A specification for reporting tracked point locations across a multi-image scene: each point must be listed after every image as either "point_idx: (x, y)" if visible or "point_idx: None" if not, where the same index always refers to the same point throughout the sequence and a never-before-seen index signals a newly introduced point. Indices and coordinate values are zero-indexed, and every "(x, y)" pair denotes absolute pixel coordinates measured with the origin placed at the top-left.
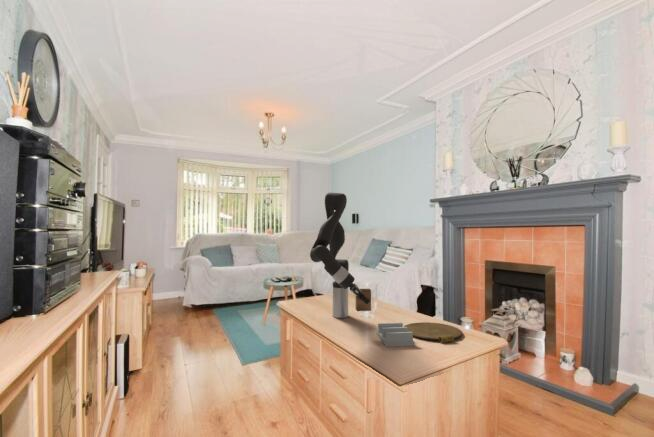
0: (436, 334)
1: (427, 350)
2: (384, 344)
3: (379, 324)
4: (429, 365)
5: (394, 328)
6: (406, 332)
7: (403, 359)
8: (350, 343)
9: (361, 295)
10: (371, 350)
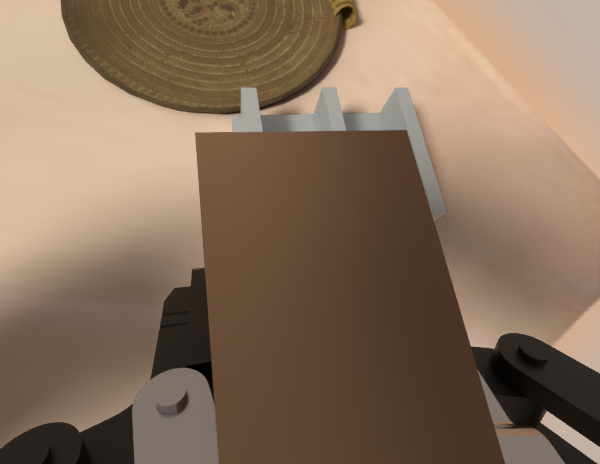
0: (286, 4)
1: (425, 95)
2: None
3: None
4: (542, 131)
5: None
6: (411, 114)
7: (524, 197)
8: None
9: (545, 412)
10: (474, 313)
